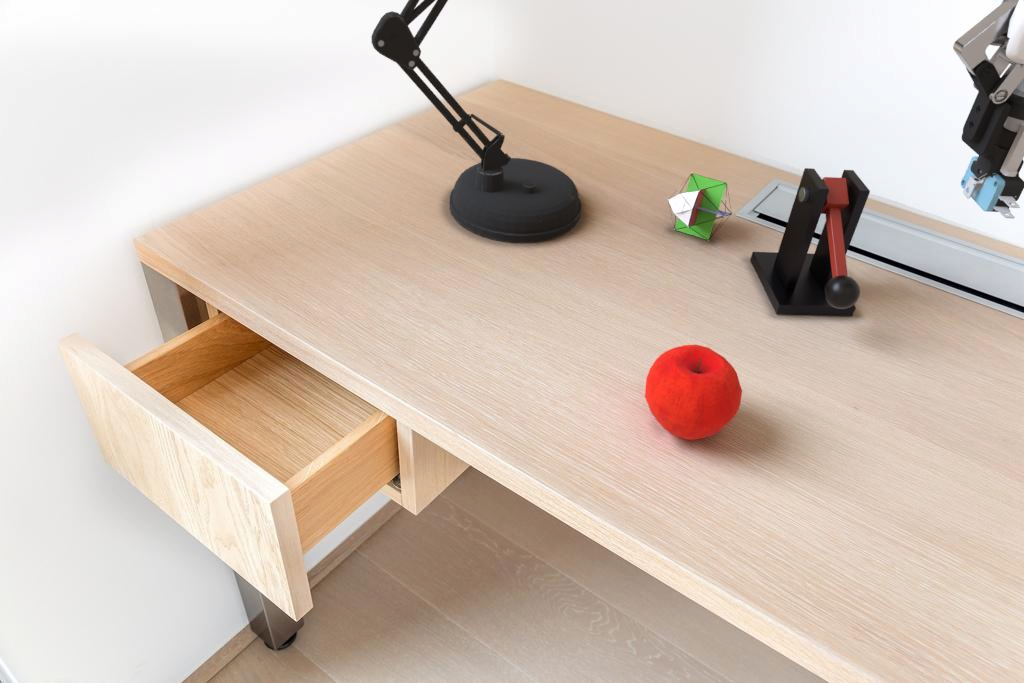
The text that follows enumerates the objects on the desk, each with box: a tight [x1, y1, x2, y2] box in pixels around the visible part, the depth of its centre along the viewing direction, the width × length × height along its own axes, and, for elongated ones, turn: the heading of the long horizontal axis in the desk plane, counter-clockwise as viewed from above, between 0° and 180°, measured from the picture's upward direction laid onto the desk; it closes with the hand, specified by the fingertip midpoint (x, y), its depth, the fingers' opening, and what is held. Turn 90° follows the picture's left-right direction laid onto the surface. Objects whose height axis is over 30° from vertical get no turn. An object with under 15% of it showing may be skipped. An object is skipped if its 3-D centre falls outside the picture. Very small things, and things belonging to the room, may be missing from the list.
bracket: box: [749, 167, 871, 317], centre depth 81 cm, size 10×8×13 cm
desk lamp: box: [371, 0, 582, 244], centre depth 81 cm, size 24×26×45 cm
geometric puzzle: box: [667, 172, 733, 242], centre depth 91 cm, size 7×7×8 cm
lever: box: [821, 176, 861, 309], centre depth 77 cm, size 13×3×3 cm
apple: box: [644, 344, 743, 441], centre depth 65 cm, size 8×8×7 cm
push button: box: [960, 79, 1024, 219], centre depth 60 cm, size 7×5×10 cm
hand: (1013, 146), depth 61 cm, fingers closed on push button, 5 cm apart
